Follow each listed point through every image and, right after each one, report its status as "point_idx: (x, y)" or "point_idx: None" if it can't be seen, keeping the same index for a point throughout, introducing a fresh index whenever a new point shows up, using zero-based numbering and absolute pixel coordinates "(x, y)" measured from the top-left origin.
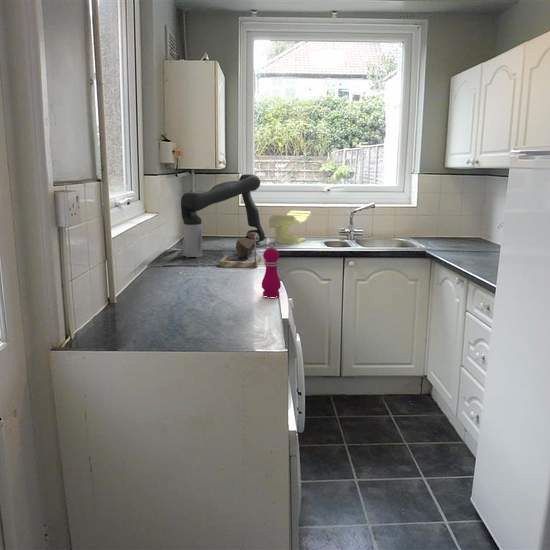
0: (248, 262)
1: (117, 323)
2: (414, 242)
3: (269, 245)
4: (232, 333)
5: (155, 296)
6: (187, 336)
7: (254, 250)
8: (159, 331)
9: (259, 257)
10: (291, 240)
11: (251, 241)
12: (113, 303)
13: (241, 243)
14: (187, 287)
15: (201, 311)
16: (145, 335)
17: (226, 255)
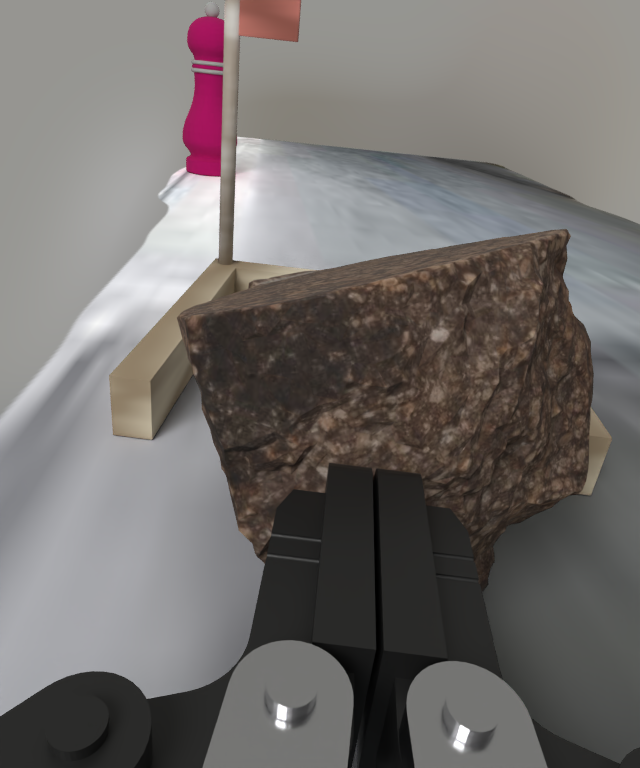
0: (279, 266)
1: (485, 173)
2: None
3: (218, 7)
4: (294, 149)
5: (515, 202)
6: (357, 154)
7: (235, 161)
8: (403, 161)
9: (152, 338)
10: None
11: (243, 298)
12: (573, 198)
13: (426, 251)
14: (473, 215)
15: (365, 170)
16: (416, 160)
17: (598, 428)
